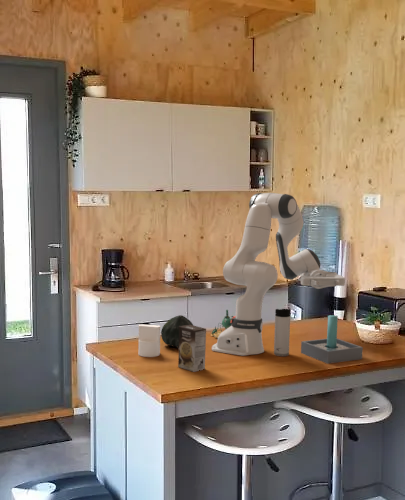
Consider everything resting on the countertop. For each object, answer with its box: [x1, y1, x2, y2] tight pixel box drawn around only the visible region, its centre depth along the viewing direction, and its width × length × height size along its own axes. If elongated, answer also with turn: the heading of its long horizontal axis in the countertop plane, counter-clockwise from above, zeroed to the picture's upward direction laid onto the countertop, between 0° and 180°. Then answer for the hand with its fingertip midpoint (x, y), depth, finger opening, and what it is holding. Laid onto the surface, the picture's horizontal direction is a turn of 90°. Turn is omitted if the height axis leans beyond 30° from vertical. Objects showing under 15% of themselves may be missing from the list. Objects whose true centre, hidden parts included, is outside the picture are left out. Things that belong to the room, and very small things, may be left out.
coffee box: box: [177, 324, 207, 373], centre depth 245 cm, size 9×6×16 cm
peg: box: [326, 314, 339, 348], centre depth 267 cm, size 4×4×16 cm
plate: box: [313, 343, 349, 351], centre depth 268 cm, size 12×12×3 cm
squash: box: [160, 314, 194, 349], centre depth 278 cm, size 14×15×15 cm
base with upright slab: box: [138, 323, 161, 358], centre depth 265 cm, size 9×9×12 cm
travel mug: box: [273, 308, 291, 357], centre depth 268 cm, size 6×7×20 cm
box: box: [300, 338, 364, 365], centre depth 268 cm, size 18×18×5 cm
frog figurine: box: [210, 309, 234, 339], centre depth 294 cm, size 10×18×15 cm, turn 33°
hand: (327, 283), depth 284 cm, fingers open, 8 cm apart
